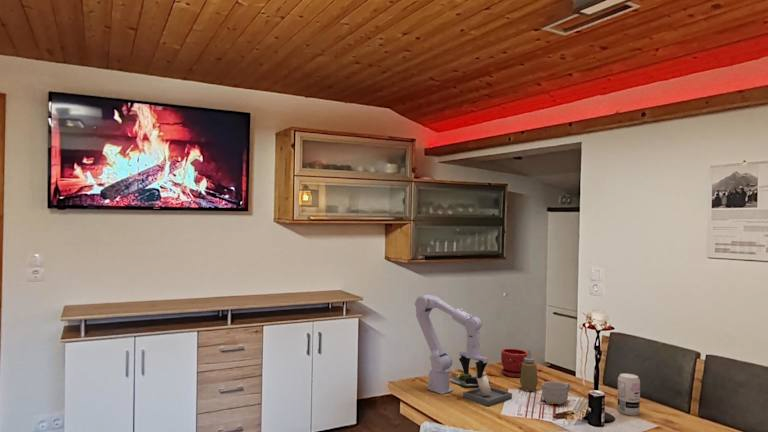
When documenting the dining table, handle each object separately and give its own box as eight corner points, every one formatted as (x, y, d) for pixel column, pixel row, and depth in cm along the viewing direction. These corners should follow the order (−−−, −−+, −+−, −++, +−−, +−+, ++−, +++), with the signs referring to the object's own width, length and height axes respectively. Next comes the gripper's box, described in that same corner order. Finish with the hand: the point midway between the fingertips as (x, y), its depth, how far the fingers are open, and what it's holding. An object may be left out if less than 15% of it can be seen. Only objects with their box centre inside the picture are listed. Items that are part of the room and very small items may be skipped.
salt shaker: (479, 396, 234) (473, 375, 236) (486, 393, 237) (480, 372, 239) (487, 395, 230) (480, 374, 232) (494, 392, 233) (487, 371, 235)
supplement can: (620, 407, 224) (621, 371, 224) (642, 412, 219) (642, 375, 219) (615, 412, 218) (615, 375, 218) (636, 417, 213) (637, 379, 213)
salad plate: (439, 380, 260) (439, 371, 260) (464, 374, 271) (464, 365, 271) (469, 391, 245) (469, 380, 245) (494, 383, 256) (494, 374, 256)
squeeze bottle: (536, 387, 250) (536, 348, 250) (539, 392, 242) (539, 353, 242) (518, 386, 251) (519, 348, 251) (521, 392, 243) (521, 352, 243)
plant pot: (523, 379, 262) (523, 355, 262) (497, 375, 269) (497, 351, 269) (530, 373, 273) (531, 350, 273) (505, 369, 280) (506, 346, 280)
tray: (463, 398, 234) (463, 392, 234) (486, 390, 244) (486, 385, 244) (488, 406, 223) (488, 400, 223) (511, 398, 233) (511, 393, 233)
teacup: (550, 408, 223) (550, 388, 223) (536, 399, 233) (536, 381, 233) (579, 405, 226) (579, 386, 226) (564, 397, 237) (564, 379, 237)
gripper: (454, 343, 238) (454, 373, 238) (480, 349, 227) (479, 381, 227) (465, 341, 242) (464, 371, 242) (490, 347, 231) (490, 378, 231)
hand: (472, 375), depth 235 cm, fingers open, 7 cm apart
